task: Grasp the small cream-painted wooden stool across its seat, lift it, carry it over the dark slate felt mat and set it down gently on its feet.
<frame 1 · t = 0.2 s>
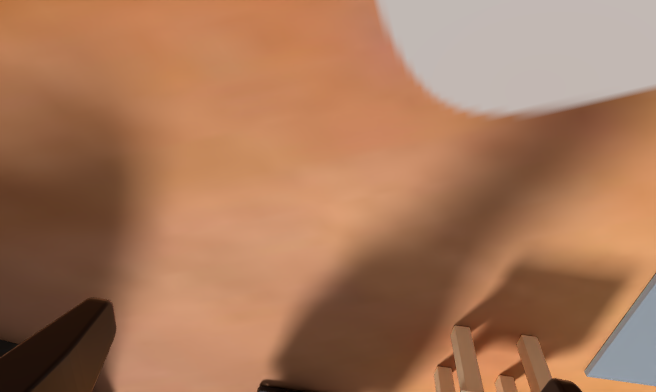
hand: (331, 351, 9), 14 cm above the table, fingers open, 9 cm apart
beer stein: (11, 382, 38), on the table
stool: (482, 356, 31), on the table
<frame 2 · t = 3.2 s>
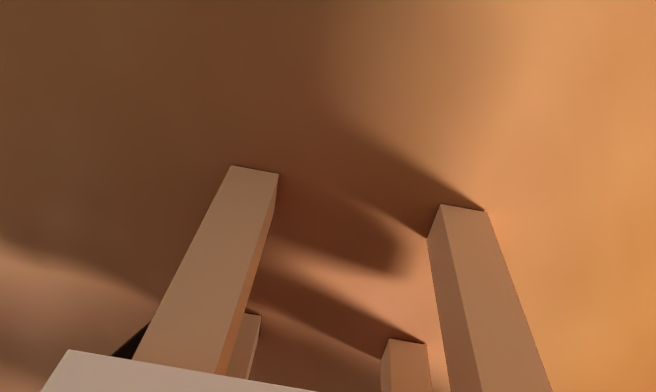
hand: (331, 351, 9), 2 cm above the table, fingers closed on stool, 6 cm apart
stool: (337, 281, 11), on the table, touching gripper
when the fingers open (3 cm above the table, at t = 7.5 s): stool drops 1 cm, resting on mat.
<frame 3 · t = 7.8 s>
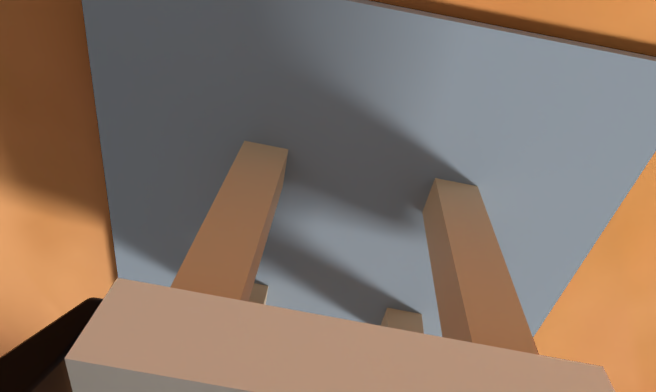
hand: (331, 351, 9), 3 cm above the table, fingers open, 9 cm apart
mat: (340, 241, 12), on the table
stool: (339, 251, 12), resting on mat
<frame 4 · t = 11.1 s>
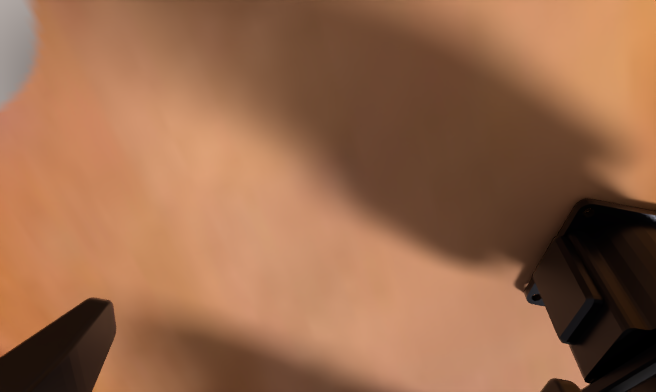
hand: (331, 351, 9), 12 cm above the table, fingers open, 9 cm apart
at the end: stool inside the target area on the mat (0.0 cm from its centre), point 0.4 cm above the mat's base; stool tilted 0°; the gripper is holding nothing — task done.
